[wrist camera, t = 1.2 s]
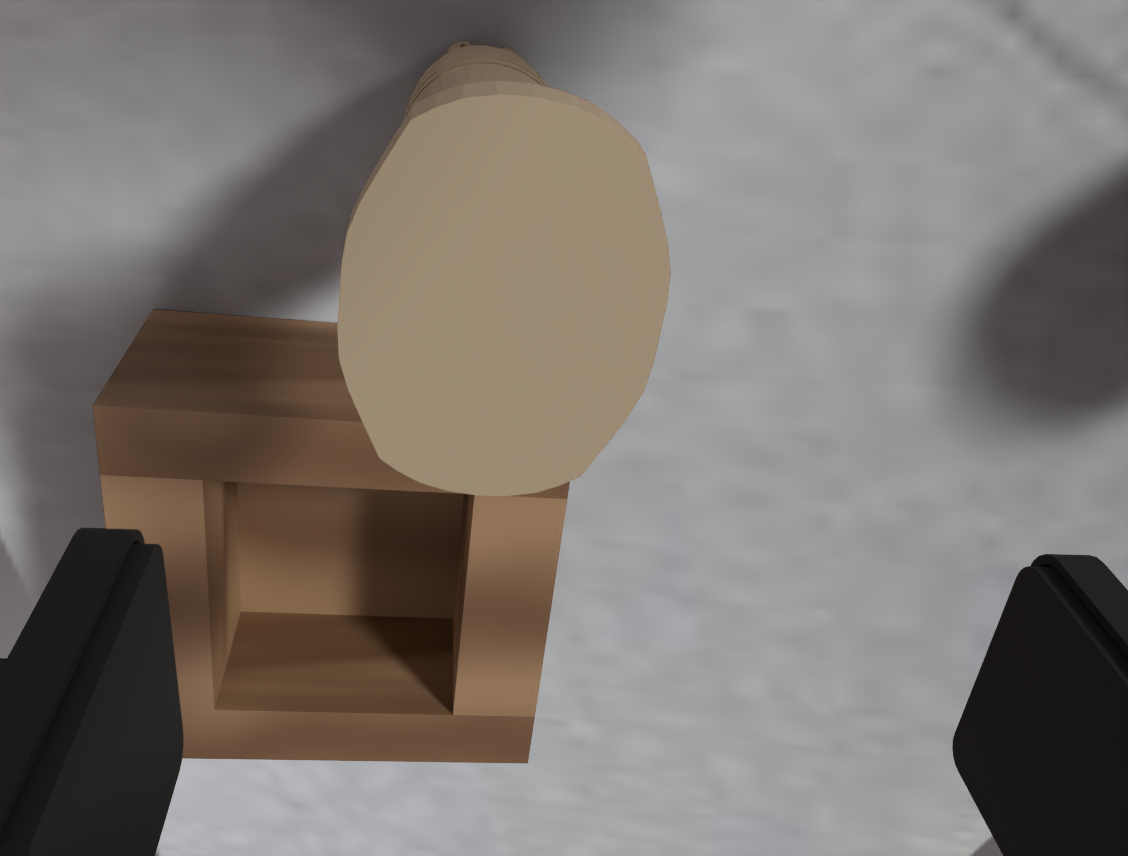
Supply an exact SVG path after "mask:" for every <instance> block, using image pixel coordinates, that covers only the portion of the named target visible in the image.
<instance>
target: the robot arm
mask: <svg viewBox="0 0 1128 856" xmlns="http://www.w3.org/2000/svg"><path fill="white" fill-rule="evenodd" d="M183 741H184V736H183V724H182V715H181V707H180V698H179V689H178V680H177V671H176V662H175V653H174V644H173V636H172V627H171V618H170V609H169V600H168V591H167V582H166V573H165V565H164V556H163V551H162V548H161V546H160V545H159V544H145V542H144V537H143V535H142V533H141V531H139V530H138V529H106V528H81V529H79V530H77V532H76V533H75V534H74V536H73V537H72V539H71V541H70V543H69V545H68V547H67V549H66V550H65V552H64V554H63V556H62V558H61V560H60V562H59V563H58V565H57V567H56V569H55V571H54V573H53V575H52V576H51V578H50V580H49V582H48V584H47V586H46V588H45V589H44V591H43V593H42V595H41V597H40V599H39V601H38V602H37V604H36V606H35V608H34V610H33V612H32V614H31V615H30V617H29V619H28V621H27V623H26V625H25V627H24V629H23V630H22V632H21V634H20V636H19V638H18V640H17V641H16V643H15V645H14V647H13V649H12V651H11V653H10V654H9V656H8V658H7V659H1V658H0V856H155V853H156V849H157V846H158V843H159V839H160V836H161V832H162V829H163V825H164V822H165V819H166V815H167V812H168V808H169V805H170V802H171V798H172V795H173V791H174V788H175V784H176V781H177V778H178V774H179V771H180V766H181V761H182V755H183ZM953 757H954V761H955V765H956V767H957V769H958V772H959V773H960V775H961V777H962V779H963V781H964V783H965V785H966V787H967V788H968V790H969V792H970V794H971V796H972V798H973V800H974V802H975V803H976V805H977V807H978V809H979V811H980V813H981V815H982V817H983V818H984V820H985V822H986V824H987V826H988V828H989V830H990V832H991V833H992V835H993V837H994V839H995V841H996V843H997V845H998V847H999V848H1000V850H1001V852H1002V854H1003V856H1128V590H1127V589H1126V588H1125V587H1124V586H1123V584H1122V583H1121V582H1120V581H1119V580H1118V579H1117V578H1116V577H1115V575H1114V574H1113V573H1112V572H1111V571H1110V570H1109V569H1108V567H1107V566H1106V565H1105V564H1104V563H1103V562H1102V561H1100V560H1099V559H1098V558H1097V557H1093V556H1090V555H1056V554H1045V555H1041V556H1039V557H1037V558H1036V559H1035V560H1034V561H1033V563H1032V564H1031V566H1030V567H1025V568H1023V569H1022V570H1021V571H1020V572H1019V574H1018V576H1017V577H1016V580H1015V582H1014V585H1013V587H1012V590H1011V592H1010V595H1009V598H1008V600H1007V603H1006V605H1005V608H1004V610H1003V613H1002V615H1001V618H1000V620H999V623H998V625H997V628H996V630H995V633H994V636H993V638H992V641H991V643H990V646H989V648H988V651H987V653H986V656H985V658H984V661H983V663H982V666H981V668H980V671H979V674H978V676H977V679H976V681H975V684H974V686H973V689H972V691H971V694H970V696H969V699H968V701H967V704H966V706H965V709H964V712H963V714H962V717H961V719H960V722H959V724H958V727H957V729H956V732H955V735H954V739H953Z"/></svg>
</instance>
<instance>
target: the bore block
mask: <svg viewBox="0 0 1128 856" xmlns="http://www.w3.org/2000/svg"><path fill="white" fill-rule="evenodd" d="M337 327H338V323H330V322H317V321H304V320H290V319H277V318H263V317H250V316H236V315H223V314H209V313H196V312H182V311H169V310H155V309H153V311H152V312H151V314H150V315H149V317H148V319H147V320H146V322H145V323H144V325H143V327H142V328H141V330H140V331H139V333H138V334H137V336H136V338H135V339H134V341H133V342H132V344H131V346H130V347H129V349H128V350H127V352H126V353H125V355H124V357H123V358H122V360H121V361H120V363H119V365H118V366H117V368H116V369H115V371H114V372H113V374H112V376H111V377H110V379H109V380H108V382H107V384H106V385H105V387H104V388H103V390H102V391H101V393H100V395H99V396H98V398H97V399H96V401H95V403H94V404H93V414H94V423H95V433H96V442H97V451H98V461H99V470H100V479H101V489H102V498H103V507H104V516H105V526H106V529H138V530H139V531H141V533H142V535H143V537H144V542H145V544H159V545H160V546H161V548H162V551H163V556H164V565H165V573H166V582H167V591H168V600H169V609H170V618H171V627H172V636H173V644H174V653H175V662H176V671H177V680H178V689H179V698H180V707H181V715H182V724H183V736H184V741H183V755H182V758H202V759H271V760H339V761H408V762H476V763H528V758H529V751H530V744H531V738H532V731H533V724H534V718H535V711H536V704H537V697H538V691H539V684H540V677H541V671H542V664H543V657H544V651H545V644H546V637H547V631H548V624H549V617H550V611H551V604H552V597H553V591H554V584H555V577H556V571H557V564H558V557H559V550H560V544H561V537H562V530H563V524H564V517H565V510H566V504H567V497H568V490H569V484H570V481H569V482H567V483H564V484H562V485H560V486H557V487H554V488H550V489H547V490H544V491H540V492H537V493H530V494H522V495H513V496H477V495H471V494H464V493H458V492H451V491H446V490H443V489H439V488H436V487H433V486H429V485H426V484H423V483H419V482H418V481H416V480H414V479H412V478H410V477H408V476H406V475H404V474H402V473H400V472H398V471H397V470H395V469H394V468H393V467H391V466H390V465H388V464H387V463H385V462H384V461H382V460H381V459H380V458H379V456H378V454H377V452H376V450H375V448H374V446H373V443H372V441H371V439H370V437H369V435H368V433H367V431H366V429H365V426H364V424H363V422H362V420H361V418H360V416H359V413H358V411H357V409H356V406H355V404H354V402H353V399H352V397H351V395H350V392H349V390H348V388H347V385H346V381H345V378H344V374H343V371H342V368H341V364H340V361H339V351H338V331H337Z"/></svg>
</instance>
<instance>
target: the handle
mask: <svg viewBox="0 0 1128 856" xmlns="http://www.w3.org/2000/svg"><path fill="white" fill-rule="evenodd" d="M670 275H671V269H670V260H669V251H668V241H667V237H666V233H665V228H664V224H663V220H662V215H661V211H660V207H659V203H658V199H657V195H656V191H655V188H654V184H653V180H652V176H651V172H650V169H649V165H648V161H647V157H646V153H645V152H644V150H643V149H642V147H641V145H640V144H639V143H638V141H637V140H636V138H635V137H634V136H633V135H632V134H631V133H629V132H628V131H627V130H626V129H625V128H624V127H623V126H622V125H621V124H620V123H619V122H618V121H617V120H616V119H614V118H613V117H611V116H610V115H609V114H607V113H606V112H605V111H603V110H602V109H600V108H599V107H598V106H596V105H595V104H594V103H591V102H589V101H587V100H584V99H582V98H580V97H577V96H575V95H573V94H570V93H568V92H565V91H562V90H558V89H554V88H550V87H548V85H547V84H546V83H545V82H544V80H543V79H542V78H541V77H540V75H539V74H538V73H537V72H536V71H535V69H533V68H532V67H531V66H530V65H529V64H528V63H527V62H526V61H524V59H523V58H522V57H521V56H520V55H519V54H518V53H516V52H515V51H514V50H512V49H510V48H509V47H503V48H497V47H493V46H486V45H472V44H470V43H469V42H468V41H461V42H457V43H455V44H453V45H451V46H450V48H449V50H448V53H447V54H445V55H444V56H442V57H441V58H439V59H438V60H436V61H435V62H434V63H433V64H432V65H431V66H430V67H429V68H428V69H427V70H426V72H425V73H424V74H423V76H422V77H421V78H420V80H419V81H418V83H417V85H416V87H415V89H414V91H413V93H412V95H411V97H410V99H409V102H408V105H407V108H406V111H405V114H404V118H403V122H402V124H401V125H400V127H399V128H398V130H397V131H396V133H395V135H394V136H393V138H392V139H391V141H390V143H389V144H388V146H387V147H386V149H385V151H384V152H383V154H382V156H381V157H380V159H379V161H378V163H377V164H376V166H375V168H374V169H373V171H372V173H371V175H370V176H369V178H368V180H367V182H366V184H365V186H364V188H363V190H362V192H361V194H360V196H359V198H358V200H357V202H356V204H355V206H354V208H353V210H352V212H351V216H350V220H349V224H348V228H347V231H346V236H345V242H344V249H343V259H342V265H341V280H340V296H339V311H338V327H337V331H338V351H339V361H340V364H341V368H342V371H343V374H344V378H345V381H346V385H347V388H348V390H349V392H350V395H351V397H352V399H353V402H354V404H355V406H356V409H357V411H358V413H359V416H360V418H361V420H362V422H363V424H364V426H365V429H366V431H367V433H368V435H369V437H370V439H371V441H372V443H373V446H374V448H375V450H376V452H377V454H378V456H379V458H380V459H381V460H382V461H384V462H385V463H387V464H388V465H390V466H391V467H393V468H394V469H395V470H397V471H398V472H400V473H402V474H404V475H406V476H408V477H410V478H412V479H414V480H416V481H418V482H419V483H423V484H426V485H429V486H433V487H436V488H439V489H443V490H446V491H451V492H458V493H464V494H471V495H477V496H513V495H522V494H530V493H537V492H540V491H544V490H547V489H550V488H554V487H557V486H560V485H562V484H564V483H567V482H569V481H571V480H574V479H576V478H578V477H580V476H581V475H582V474H583V473H584V472H585V470H586V469H587V468H588V467H589V465H590V464H591V463H592V462H593V461H594V459H595V458H596V457H597V456H598V454H599V453H600V452H601V451H602V449H603V448H604V447H605V446H606V445H607V443H608V442H609V441H610V440H611V438H612V437H613V436H614V434H615V433H616V432H617V430H618V429H619V428H620V427H621V425H622V424H623V423H624V421H625V420H626V419H627V418H628V416H629V415H630V413H631V412H632V410H633V408H634V407H635V405H636V403H637V402H638V400H639V398H640V397H641V395H642V393H643V392H644V390H645V387H646V384H647V381H648V378H649V375H650V372H651V369H652V366H653V363H654V359H655V355H656V350H657V346H658V342H659V337H660V333H661V328H662V324H663V320H664V315H665V311H666V306H667V301H668V292H669V284H670Z"/></svg>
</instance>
